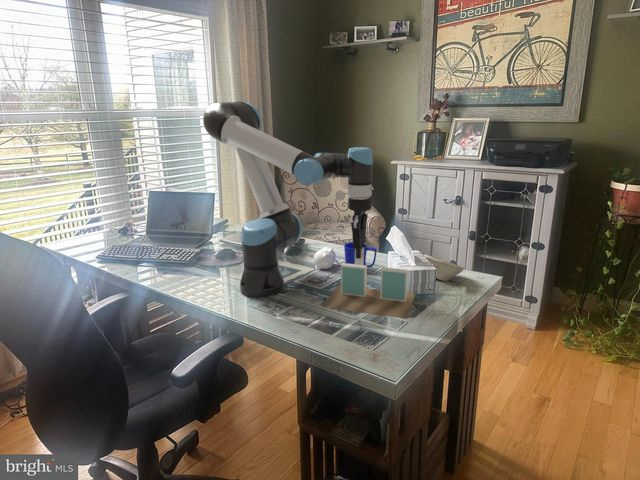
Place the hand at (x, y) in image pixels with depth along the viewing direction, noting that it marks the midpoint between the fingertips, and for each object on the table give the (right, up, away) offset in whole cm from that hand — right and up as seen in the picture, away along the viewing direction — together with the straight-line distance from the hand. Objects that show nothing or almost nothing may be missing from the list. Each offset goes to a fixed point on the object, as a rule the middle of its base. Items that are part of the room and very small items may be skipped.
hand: (359, 266), depth 150 cm
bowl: (+30, -5, +10) cm, 32 cm away
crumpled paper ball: (-10, -2, +23) cm, 25 cm away
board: (+3, -11, -8) cm, 14 cm away
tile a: (-2, -9, -4) cm, 10 cm away
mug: (+2, -3, +19) cm, 19 cm away
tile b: (+10, -10, -8) cm, 16 cm away
